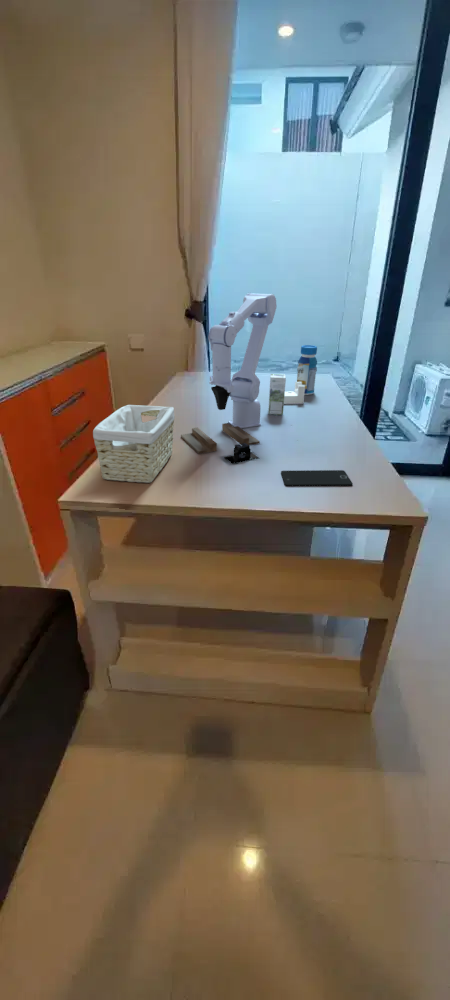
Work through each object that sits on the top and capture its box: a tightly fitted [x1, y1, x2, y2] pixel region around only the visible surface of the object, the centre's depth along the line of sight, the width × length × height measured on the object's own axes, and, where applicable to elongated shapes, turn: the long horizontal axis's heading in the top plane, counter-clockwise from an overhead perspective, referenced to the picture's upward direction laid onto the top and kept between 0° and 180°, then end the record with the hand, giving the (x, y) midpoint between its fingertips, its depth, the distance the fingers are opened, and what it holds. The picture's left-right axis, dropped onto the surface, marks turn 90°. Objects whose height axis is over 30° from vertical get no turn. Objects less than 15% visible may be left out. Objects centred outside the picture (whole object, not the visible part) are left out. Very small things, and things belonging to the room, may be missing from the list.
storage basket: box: [92, 404, 175, 484], centre depth 122 cm, size 24×16×15 cm
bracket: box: [284, 381, 305, 405], centre depth 183 cm, size 13×7×8 cm, turn 93°
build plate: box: [223, 443, 261, 465], centre depth 131 cm, size 12×7×5 cm, turn 116°
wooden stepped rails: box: [180, 422, 261, 455], centre depth 143 cm, size 21×16×2 cm
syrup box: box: [267, 373, 287, 416], centre depth 167 cm, size 6×6×14 cm
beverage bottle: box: [296, 344, 318, 396], centre depth 191 cm, size 8×8×20 cm
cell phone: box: [280, 469, 353, 488], centre depth 119 cm, size 9×18×1 cm, turn 91°
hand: (221, 409), depth 143 cm, fingers closed
